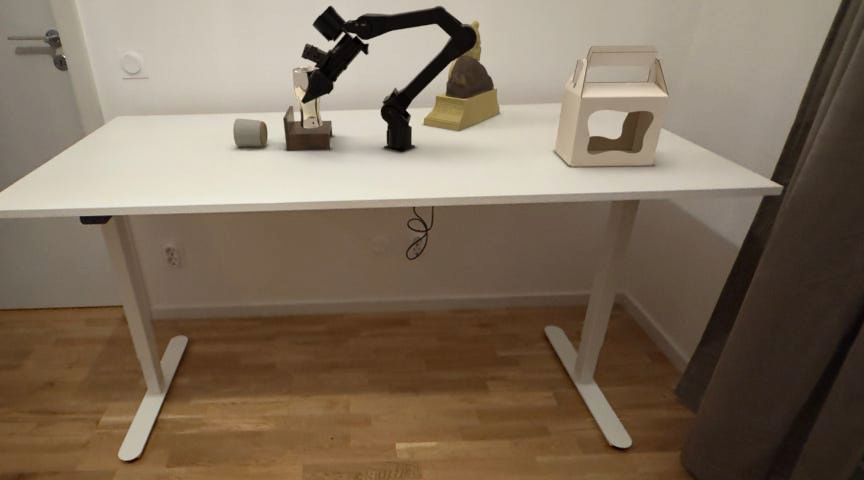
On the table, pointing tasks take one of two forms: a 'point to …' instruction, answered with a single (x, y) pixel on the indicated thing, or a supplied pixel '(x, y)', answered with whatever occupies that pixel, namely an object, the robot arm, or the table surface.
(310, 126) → the beer glass
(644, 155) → the gable box
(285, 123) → the desk shelf
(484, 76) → the tan and brown statue
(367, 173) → the table surface
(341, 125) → the table surface
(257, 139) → the ceramic mug
